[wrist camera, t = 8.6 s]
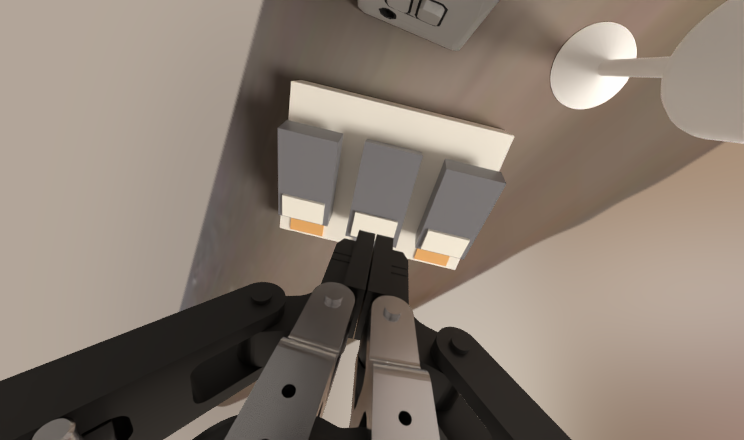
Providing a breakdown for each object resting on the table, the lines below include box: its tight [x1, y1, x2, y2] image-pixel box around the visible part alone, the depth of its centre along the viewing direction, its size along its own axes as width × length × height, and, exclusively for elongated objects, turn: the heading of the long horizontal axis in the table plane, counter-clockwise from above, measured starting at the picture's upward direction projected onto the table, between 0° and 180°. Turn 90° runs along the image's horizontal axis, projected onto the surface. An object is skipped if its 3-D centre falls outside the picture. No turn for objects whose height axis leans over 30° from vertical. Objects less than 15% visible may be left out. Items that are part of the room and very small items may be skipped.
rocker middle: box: [345, 139, 423, 248], centre depth 27 cm, size 9×5×2 cm, turn 167°
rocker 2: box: [415, 159, 506, 260], centre depth 27 cm, size 9×5×2 cm, turn 168°
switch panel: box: [280, 80, 514, 270], centre depth 30 cm, size 15×20×4 cm
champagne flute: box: [550, 0, 744, 144], centre depth 14 cm, size 7×7×24 cm
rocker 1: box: [278, 120, 343, 226], centre depth 27 cm, size 9×5×2 cm, turn 168°
